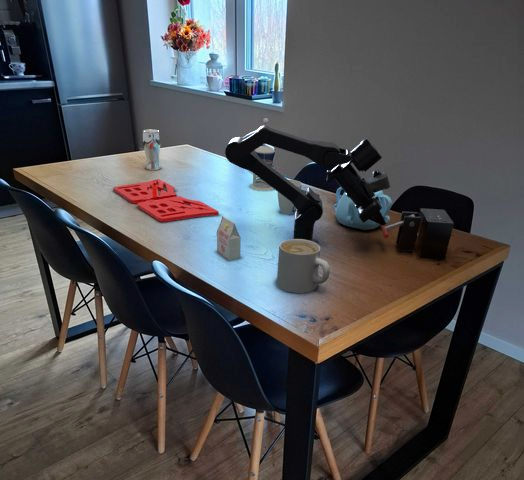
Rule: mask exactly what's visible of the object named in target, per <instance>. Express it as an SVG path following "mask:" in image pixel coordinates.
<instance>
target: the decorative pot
mask: <svg viewBox="0 0 524 480" xmlns="http://www.w3.org/2000/svg"><path fill="white" fill-rule="evenodd" d="M341 191H343V194H341ZM373 193H374V192H373ZM374 194H375V196H374V197H372V198H376V197H377V196H378V198H379V201H380V203H381V206H382V209H381V210H380V212H381V214H382V216H383V218H384V220H385V222H386V224H385V225H387V224H389V223H390V221H391V217H390V216H389V215H388V213H389V212H390V210H391V208H392V206H393V200H392V199H391V197H390V196H389V195H387V194H384V190H381V191H378V192H375V193H374ZM335 199H336V203H335V204H333V206H332V207H333V211H334V212H335V217H336V220H337V221H338V223H340V224H342V225H343V226H347V227H349V228H350V227H351V228H354V229H360V230H361V231H368V230H374V229H376V228H378V227H381V225H380V224H378V223H376V222H374V221H371V220H369V219H368V220H367V221H366V222H364V223H363V222H362V221H361V219H360V218H359V215H358V212H359V209H360V208H361V206H360V207H359V208H358V209H357V208H356V207H355V204H354V203H353V201H352V200H351V199H350V198H348V197H347V196H346V193H345V191H344V190H343V189H342V188H341V186H339V187H337V189H336V192H335Z"/></svg>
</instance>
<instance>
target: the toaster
mask: <svg viewBox="0 0 524 480" xmlns="http://www.w3.org/2000/svg"><path fill="white" fill-rule="evenodd" d="M418 217H420V218H421V219H420V224H419V228H418V233H417V237H416V242H415V246H414V250H415V251H416V254H417V256H418V257H419V259H429V260H441V261H445V259H446V255H447V252H448V248H449V244H450V240H451V237H452V233H453V230H454V225H455V222H454V221H453V220H452V219H451V217H450V216H449V214H448V213H447V211H446V210H445V209H436V208H425V207H424V208H421V207H420V208H419V212H418Z"/></svg>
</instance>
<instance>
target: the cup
mask: <svg viewBox="0 0 524 480" xmlns="http://www.w3.org/2000/svg"><path fill="white" fill-rule="evenodd" d="M288 180H289V181H290V182H291V183H293V184H294V185H295V186H297V187H298V188H299V189H302V186H303V183H302V182H301V181H299V180H295V179H288ZM277 201H278V202H277V203H278V208H279V211H280V213H281V214H283V215H288V216H290V215H291V216H292V215H295V211H296V210H297V209H296V208H295V206H294V205H293V203H292V202H291V201H289V200H288V199H287V198H285V197H284V196H283V195H282V194H280V193H279V192H278V191H277Z"/></svg>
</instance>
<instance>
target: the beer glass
mask: <svg viewBox="0 0 524 480" xmlns="http://www.w3.org/2000/svg"><path fill="white" fill-rule="evenodd" d="M142 145H143V149H144V154H145V158H146V166H145V168H146V170H147V171H158V170H161V169H162V167H161V162H160V155H161V137H160V130H159V129H152V128H151V129H149V128H147V129H142Z"/></svg>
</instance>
